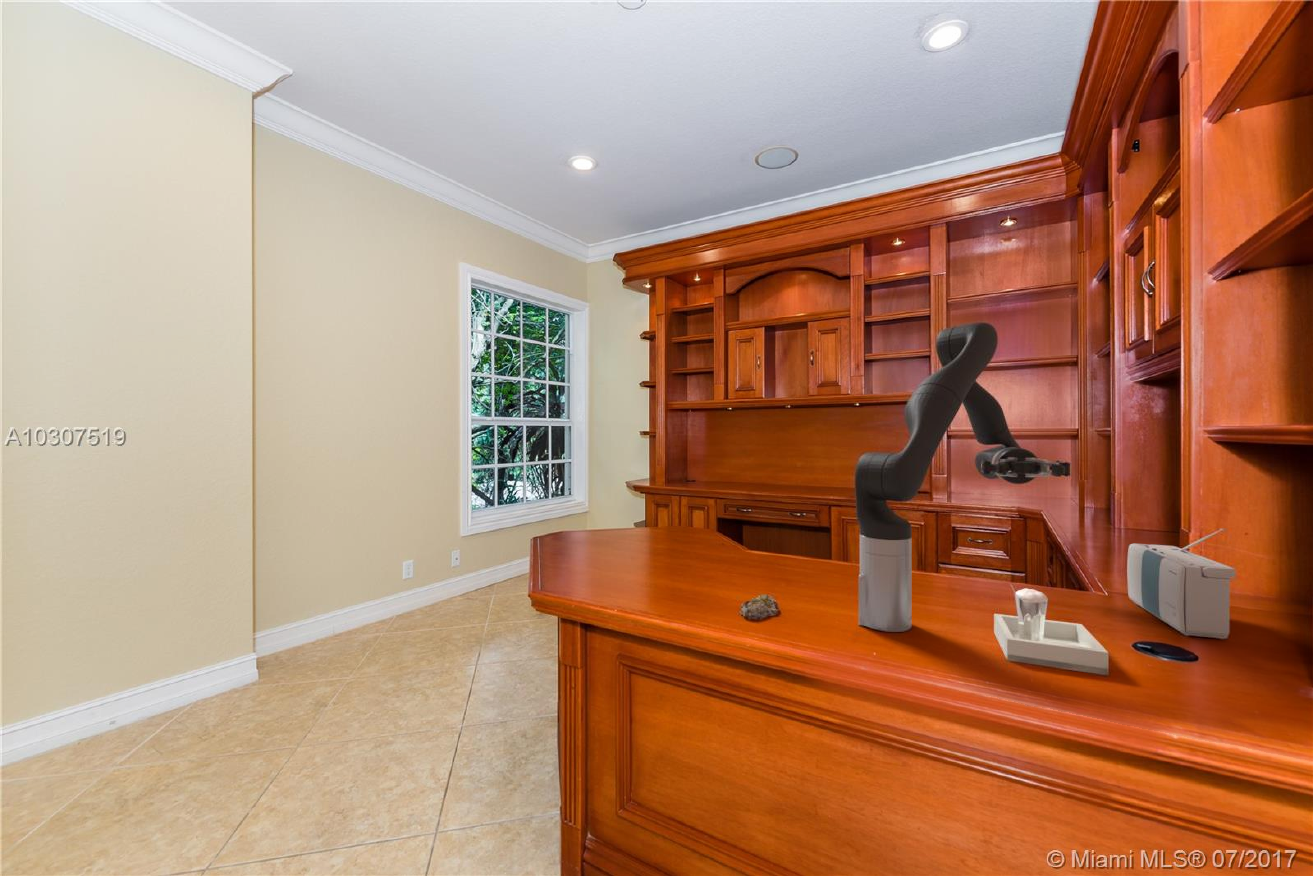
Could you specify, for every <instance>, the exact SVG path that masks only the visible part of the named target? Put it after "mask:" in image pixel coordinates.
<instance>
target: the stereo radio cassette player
mask: <svg viewBox="0 0 1313 876" xmlns="http://www.w3.org/2000/svg"><path fill="white" fill-rule="evenodd" d="M1223 531H1225V528H1224V527H1222V528H1220V529H1219V530H1216V531H1215V532H1213V533H1211V534H1209V535H1206V536H1204V537H1202V538H1200V539H1198V540H1196V541H1194V542H1192V543H1190V544H1188V545H1186V546H1184V547H1183V548H1181V547H1178V546H1175V545H1167V544H1166V545H1164V544H1162V545H1161V544H1146V543H1131V544H1129V546H1128V549H1127V550H1128V551H1127V563H1126V564H1127V565H1126V575H1127V576H1126V578H1127V593H1128V594H1127V595H1128V598H1129V599H1130V600H1131V601H1133V602H1134V604H1136V605H1137V606H1139V607H1141V608H1142V609H1143V610H1144V611H1145V610H1146V611H1147V612H1149V613H1150V614H1151V615H1153V616H1154V617H1156V618H1157V619H1159V620H1161V621H1163V622H1164V623H1166V624H1168V625H1169V626H1171V627H1172V628H1173V629H1175V630H1176V631H1179V632H1180V633H1181V634H1183V635H1184V636H1186V637H1190V636H1192V637H1193V636H1194V637H1202V638H1203V637H1205V638H1215V639H1218V640H1219V639H1220V640H1224V639H1228V637H1229V634H1230V601H1231V599H1230V598H1231V597H1230V596H1231V595H1230V594H1231V593H1230V592H1231V590H1230V588H1231V587H1230V584H1231V583H1230V581H1231V580H1232V579H1236V576H1237V572H1236V568H1234V567H1232V566H1228V565H1226V564H1223V563H1221V562H1217V561H1215V560H1214V559H1213V560H1212V559H1210V558H1207V557H1205V556H1202V555H1199V554H1197V553H1193V552H1191V551H1189V550H1188V549H1190V548H1192V547H1194V546H1196V545H1198V544H1200V543H1202V542H1204V541H1205V540H1207V539H1210V538H1211V537H1213V536H1215V535H1216V534H1219V533H1220V532H1223Z"/></svg>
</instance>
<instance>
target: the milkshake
mask: <svg viewBox="0 0 1313 876" xmlns="http://www.w3.org/2000/svg"><path fill="white" fill-rule="evenodd" d="M1010 586H1011V589H1012V592H1013V593H1014V597H1015V598H1014V599H1015V606H1016V612H1017V616H1018V626H1019V639H1026V640H1034V641H1041V642H1043V636H1044V625H1045V620H1046V615H1047V609H1048V608H1047V607H1048V600H1049V599H1048V596H1047V595H1046V594H1044V593H1043V592H1042V591H1039V590H1036V589H1031V588H1026V587H1025V588H1022V589H1019V590H1017V591H1015V589H1014V586H1013V585H1012V584H1011V583H1010Z"/></svg>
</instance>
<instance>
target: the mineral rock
mask: <svg viewBox="0 0 1313 876" xmlns="http://www.w3.org/2000/svg"><path fill="white" fill-rule="evenodd" d="M779 609H780V608H779V604H778V602H777V601H776V599H775V598H774V597H773V596H771V595H768V594H760V595H758V596H756V597H753V598H752V599H751V600H745V602H742V603H741V606H740V611H739V613H740V615H741V616H743V618H745V619H748V620H749V621H752V620H756V621H757V620H762V619H765V618H767V617H771V616H772V617H775V616H777V615H778V614H779V613H778V612H779Z"/></svg>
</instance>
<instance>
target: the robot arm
mask: <svg viewBox="0 0 1313 876" xmlns="http://www.w3.org/2000/svg"><path fill="white" fill-rule="evenodd" d="M997 332H998V331H997V330H996V329H995V327H994V326H993V325H992V324H990V323H988V322H977V321H976V322H971V323H967V324H966V323H965V324H961V325H955V326H951V327H946V328H944V329H942V330H940V331H939V333H938V334H937V337H936V339H935V351H936V355H937V358H938V361H939V362H940V364H941V368H940V369H938V370H936V371H935V372H934V373H932V374H930V375H929V376H927V377H926V378H925V379H923V380H922V381H921V382H920V383H919V384H918V386H917V387H916V388H915V389H914V391H913V393H912V394H911V396H910V397H909V399H908V401H907V402H906V404H905V406H904V407H905V408H904V413H903V414H904V420H905V424H906V427H907V430H908V432H909V440H908V442H907V444H906V445H905V447H904V448H903V450H902V451H900V452H878V451H877V452H875V451H874V452H866V453H864V454H862V455H861V456H860V457H859V458H858V460H857V462H856V466H855V471H854V491H855V492H854V494H855V510H856V511H855V513H856V515H855V516H856V519H857V523H858V526H859V575H858V625H859V626H863V627H864V626H865V627H868V628H870V629H872V630H877V631H880V632H881V631H882V632H888V633H901V632H906V631H909V630H911V628H912V617H913V616H912V530H913V529H912V525H911V523H910V521H908V520H907V519H905V518H903V517H902V516H901V515H898V514H897V513H895V512H894V511H893V510H892V509H891V508H890V507H889V505H888V501H889V502H897V503H904V502H905V503H906V502H909V501H911V500H913V499H914V498H915V497H916V496H917V494H918V493H919V491H920V489H921V488H922V486H923V483H924V481H925V479H926V476H927V473H928V471H929V468H930V466H931V464H932V460H933V459H934V456H935V453H936V452H937V450H938V447H939V445H940V443H941V441H942V440H943V439H944V438H943V437H944V436H945V434H946V432H947V430H948V429H949V427H950V425H951V424H952V422H953V421H954V419H955V417H956V416H957V414H958V412H959V410H960V408H961V406H962V405H963V406H964V409H965V412H966V413H967V417H968V418H969V423H970V424H971V425H970V426H971V429H972V431H973V435H974V437H975V440H976V441H977V443H979V444H981V445H984V446H994V445H996V446H994V447H990V448H987V449H984V450H981V451H979V452H978V453H977V454H976V456H975V458H974V465H975V467H976V470H977V472H978V473H979V474H980V475H981V476H982V477H984V478H986V479H989V480H994V479H1002V480H1003V481H1005V482H1007V483H1010V484H1015V485H1023V484H1026V483H1031V482H1032V481H1033V480H1035V478H1048V477H1050V476H1053V477H1055V478H1056V477H1062V476H1063V477H1070V476H1071V462H1067V461H1060V460H1056V461H1055V460H1054V461H1053V462H1051V461H1050V459H1040V458H1038V457H1037V455H1035V453H1034V452H1033V451H1030V450H1028V449H1025V448H1022V447H1021V446H1020V445H1019V444H1018V442H1017V441H1016V439H1015V438H1014V436H1013V435H1012V433H1011V431H1010V428H1009V426H1008V422H1007V419H1006V417H1005V414H1004V411H1003V408H1002V406H1001V404H1000V403H999V401H998V400H997V399H996V398H995V396H993V395H992V394H991V393H990V392H989V391H987V389H985V388H984V387H983V386H982V385H981V384H979V383H978V382H977V380H978V378H979V376H980V375H981V374H982V373H983V371H984V370H985V369H986V367H987V366H988V365H989V364H990V362H991V361H992V359H993V358H994V355H995V353H996V351H997V348H998V343H999V342H998V338H999V337H998V333H997ZM997 445H998V446H997Z"/></svg>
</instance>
